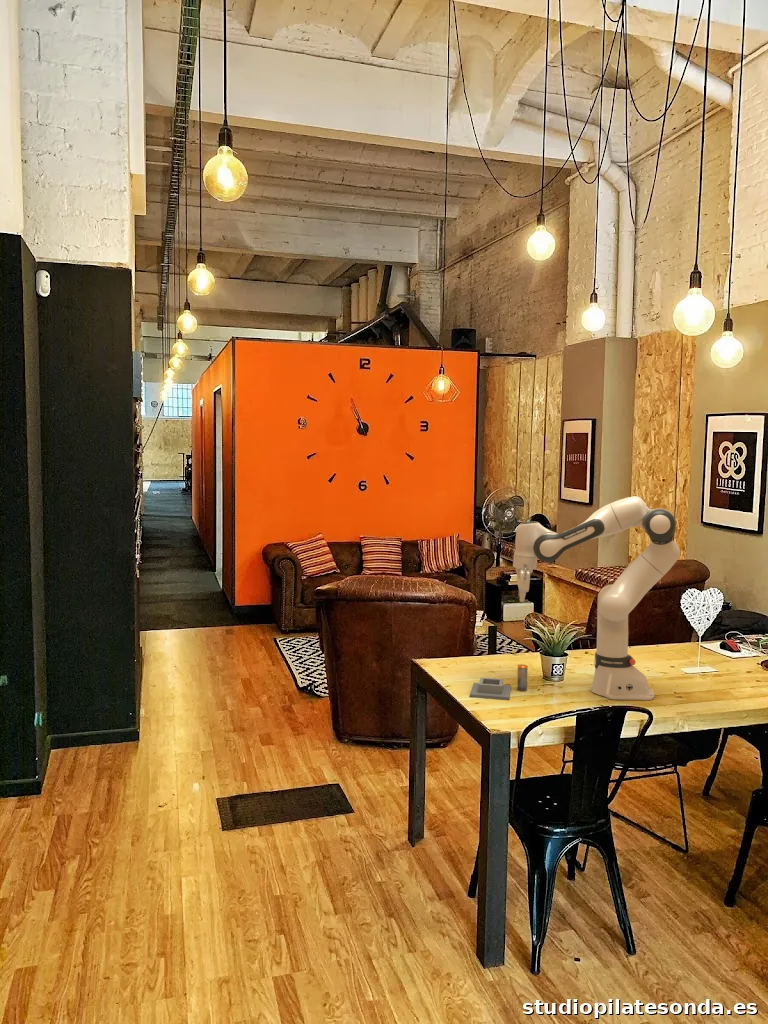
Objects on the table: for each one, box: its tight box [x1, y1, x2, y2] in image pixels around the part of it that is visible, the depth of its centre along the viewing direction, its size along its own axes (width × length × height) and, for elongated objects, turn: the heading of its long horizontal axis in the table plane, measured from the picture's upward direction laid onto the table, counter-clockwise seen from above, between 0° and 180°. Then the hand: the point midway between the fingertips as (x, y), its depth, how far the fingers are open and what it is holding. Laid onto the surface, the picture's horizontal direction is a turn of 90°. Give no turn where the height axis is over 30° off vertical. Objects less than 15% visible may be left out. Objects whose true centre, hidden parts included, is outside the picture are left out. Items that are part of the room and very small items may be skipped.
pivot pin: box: [516, 663, 529, 692], centre depth 286 cm, size 4×4×9 cm
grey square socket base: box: [469, 677, 512, 701], centre depth 283 cm, size 14×14×4 cm
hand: (521, 599), depth 295 cm, fingers open, 8 cm apart
